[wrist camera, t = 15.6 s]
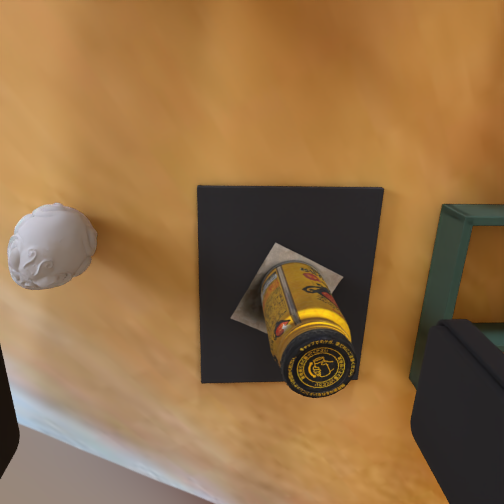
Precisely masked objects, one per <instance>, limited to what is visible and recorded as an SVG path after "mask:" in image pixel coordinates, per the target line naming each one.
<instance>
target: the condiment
mask: <svg viewBox="0 0 504 504" xmlns="http://www.w3.org/2000/svg"><path fill="white" fill-rule="evenodd" d="M342 278H343V277H342V276H341V275H339V274H337V273H335V272H333V271H331V270H329V269H327V268H325V267H323V266H321V265H319V264H317V263H316V262H314V261H312V260H310V259H308V258H306V257H303V256H302V255H300V254H298V253H296V252H293V251H291V250H289V249H287V248H285V247H283V246H281V245H279V244H277V243H275V244H274V246H273V248H272V249H271V251H270V252H269V254H268V256H267V257H266V259H265V261H264V263H263V264H262V266H261V267H260V269H259V270H258V272H257V274H256V276H255V277H254V279H253V281H252V282H251V284H250V286H249V288H248V290H247V291H246V293H245V294H244V296H243V298H242V299H241V301H240V303H239V304H238V306H237V308H236V310H235V311H234V313H233V315H232V316H231V319H234V320H236V321H239V322H241V323H244V324H246V325H249V326H251V327H253V328H256V329H258V330H260V331H262V332H265V333H267V334H268V338H269V343H270V348H271V353H272V355H273V358H274V360H275V361H276V362H277V364H278V365H279V366H280V370H281V375H282V377H283V380H284V381H285V382H286V383H287V385H288V386H289V387H290V388H291V389H292V390H293V391H295V392H296V393H298V394H301V395H303V396H306V397H312V398H319V397H326V396H329V395H332V394H335V393H336V392H338V391H340V390H341V389H343V388H344V387H345V386H346V385H347V384H348V383H349V382H350V381H351V379H352V378H353V376H354V374H355V372H356V364H357V356H356V353H355V350H354V348H353V345H352V343H351V334H350V330H349V327H348V324H347V322H346V320H345V318H344V317H343V315H342V313H341V311H340V309H339V307H338V306H337V304H336V302H335V300H334V298H333V296H332V292H333V291H334V290H335V288H336V286H337V285H338V283H339V282H340V281H341V279H342Z"/></svg>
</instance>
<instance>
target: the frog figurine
mask: <svg viewBox="0 0 504 504" xmlns="http://www.w3.org/2000/svg"><path fill="white" fill-rule="evenodd" d="M96 239H97V231H96V230H95V229H94V228H93V226H92V224H91V222H90V221H89V219H88V218H87V217H86V216H85V215H84V214H83V213H81V212H80V211H78V210H76V209H73V208H70V207H66V206H63V205H62V204H60V203H54V204H52V205H43V206H40V207H38V208H37V209H35V210H34V211H33V213H32V214H28V215H26V216H24V217H23V218H22V219H21V220H20V221H19V222H18V224H17V225H16V227H15V231H14V235H13V236H12V237H11V238H10V241H9V245H8V251H7V252H8V265H9V270H10V274H11V277H12V278H13V280H14V281H15V282H16V283H17V284H18V285H19V286H21V287H23V288H25V289H30V290H41V289H49V288H53V287H57V286H61V285H63V284H65V283H67V282H68V281H70V280H71V279H72V278H73V277H76V276H78V275H81V274H82V273H83V272H84V271H85V270H86V269H87V268H88V266H89V265H90V263H91V260H92V259H91V256H93V255H94V253H95V251H96V247H97V241H96Z"/></svg>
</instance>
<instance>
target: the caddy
mask: <svg viewBox="0 0 504 504" xmlns="http://www.w3.org/2000/svg"><path fill="white" fill-rule="evenodd" d="M473 226H504V204H442V208H441V213H440V218H439V224H438V229H437V234H436V239H435V245H434V250H433V255H432V260H431V265H430V271H429V276H428V281H427V286H426V292H425V297H424V302H423V307H422V312H421V318H420V323H419V328H418V333H417V338H416V344H415V349H414V354H413V359H412V365H411V370H410V375H409V379H410V380H411V382H412V384H413V385H414V387H415V388H416V390H417V386H418V381H419V376H420V371H421V366H422V362H423V357H424V352H425V347H426V342H427V337H428V332H429V329H430V328H431V327H432V326H436V324H437V322H438V321H439V320H441V319H452V317H453V313H454V308H455V304H456V299H457V295H458V290H459V286H460V281H461V277H462V272H463V268H464V263H465V259H466V254H467V250H468V245H469V241H470V236H471V232H472V227H473ZM472 324H474V325H475V326H476V327H477V328H478V329H479V330H480V331H481V332H482V333H483V334H484V335H485V336H486V337H487V338H488V339H489V340H490V341H491V342H492V343H493V344H494V345H496V346H497V347H498V348H499V349H500V350H501V351H502V352H504V323H472Z"/></svg>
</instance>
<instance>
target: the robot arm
mask: <svg viewBox="0 0 504 504" xmlns="http://www.w3.org/2000/svg"><path fill="white" fill-rule="evenodd" d="M411 431H412V435H413V437H414V439H415V441H416V443H417V445H418V447H419V448H420V450H421V452H422V454H423V456H424V458H425V459H426V461H427V463H428V465H429V467H430V469H431V471H432V472H433V474H434V476H435V478H436V480H437V482H438V483H439V485H440V487H441V489H442V491H443V493H444V494H445V496H446V498H447V500H448V502H449V504H504V353H503V352H502V351H501V350H500V349H499V348H498V347H497V346H496V345H494V344H493V343H492V342H491V341H490V340H489V339H488V338H487V337H486V336H485V335H484V334H483V333H482V332H481V331H480V330H479V329H478V328H477V327H476V326H475V325H474V324H472V323H471V322H470V321H469V320H467V319H441V320H439V321H438V322H437V324H436V326H432V327H431V328H430V329H429V332H428V337H427V342H426V347H425V352H424V357H423V362H422V366H421V371H420V376H419V381H418V386H417V391H416V396H415V401H414V406H413V411H412V416H411ZM19 437H20V434H19V427H18V423H17V418H16V413H15V409H14V404H13V400H12V395H11V391H10V386H9V382H8V377H7V373H6V368H5V364H4V359H3V355H2V350H1V345H0V479H1V477H2V475H3V473H4V471H5V469H6V468H7V466H8V464H9V463H10V461H11V459H12V457H13V455H14V454H15V452H16V449H17V447H18V444H19Z"/></svg>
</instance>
